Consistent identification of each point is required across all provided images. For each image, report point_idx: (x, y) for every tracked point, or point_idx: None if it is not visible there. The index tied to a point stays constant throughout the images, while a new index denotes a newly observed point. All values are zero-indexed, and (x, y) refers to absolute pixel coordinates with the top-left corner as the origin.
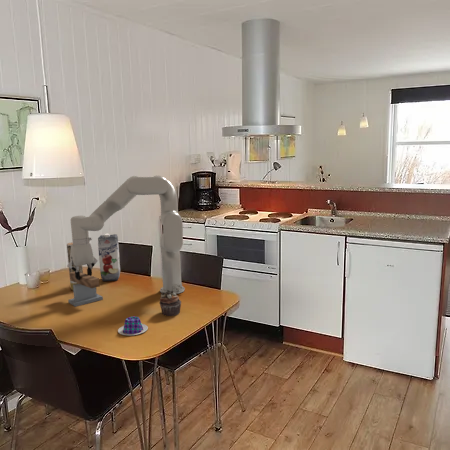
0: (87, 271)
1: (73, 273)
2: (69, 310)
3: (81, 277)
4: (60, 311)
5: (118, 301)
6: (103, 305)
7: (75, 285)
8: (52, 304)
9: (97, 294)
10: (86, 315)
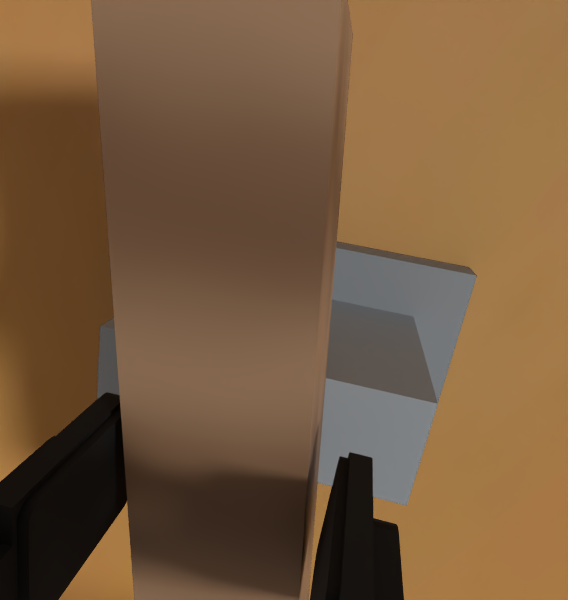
0: (326, 554)
1: (133, 164)
2: (83, 390)
3: (135, 535)
4: (25, 347)
5: (463, 572)
6: (320, 533)
7: (115, 381)
8: (37, 111)
9: (447, 342)
10: (123, 566)
